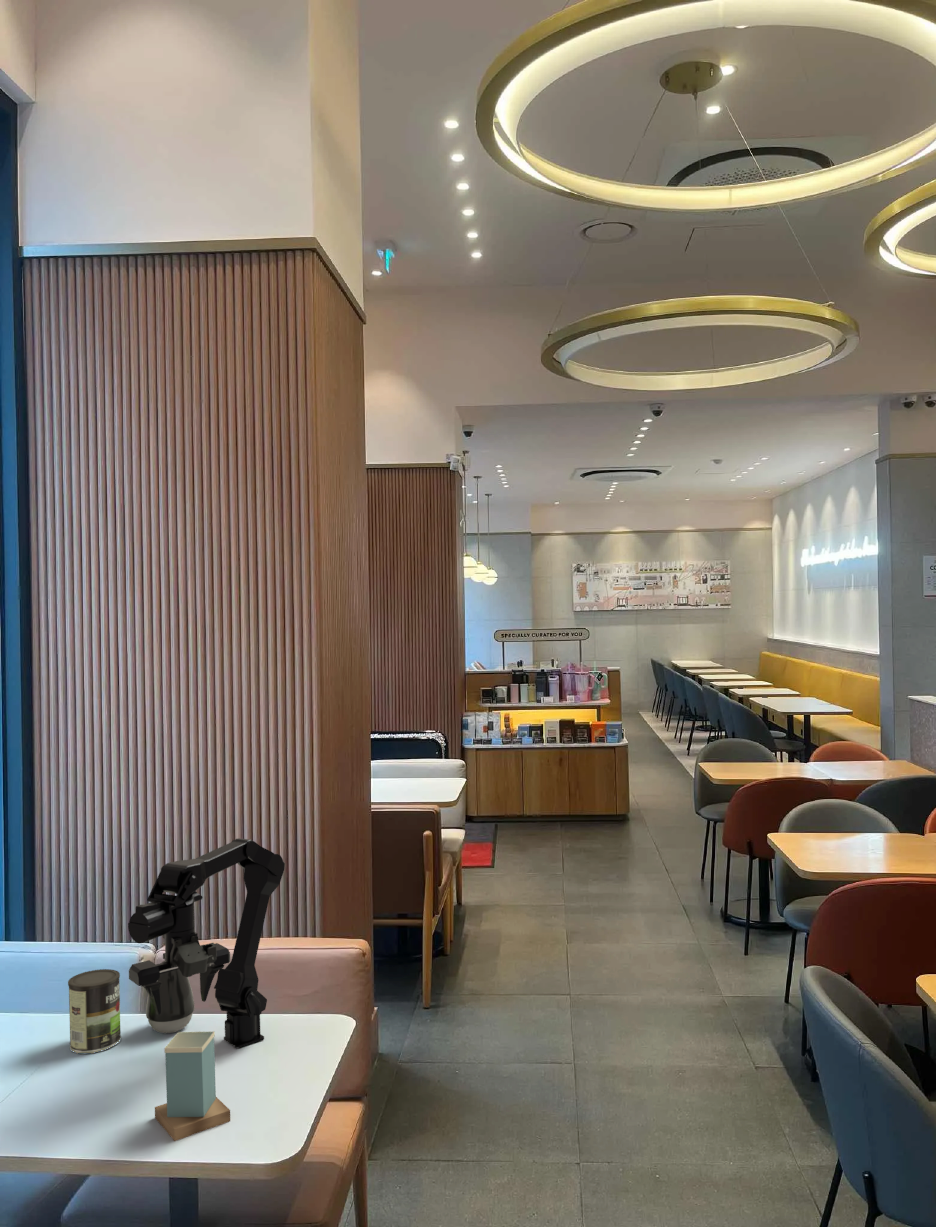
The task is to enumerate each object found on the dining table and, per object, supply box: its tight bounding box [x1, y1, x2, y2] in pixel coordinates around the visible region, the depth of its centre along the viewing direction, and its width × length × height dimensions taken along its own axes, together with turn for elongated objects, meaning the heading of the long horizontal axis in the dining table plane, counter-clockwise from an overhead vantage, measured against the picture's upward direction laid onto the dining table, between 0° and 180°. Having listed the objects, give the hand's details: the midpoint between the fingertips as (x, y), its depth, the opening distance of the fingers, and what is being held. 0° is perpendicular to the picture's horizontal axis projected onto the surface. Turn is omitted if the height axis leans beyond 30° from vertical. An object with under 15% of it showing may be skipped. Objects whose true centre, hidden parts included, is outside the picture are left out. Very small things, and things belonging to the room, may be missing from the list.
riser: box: [154, 1096, 231, 1142], centre depth 166 cm, size 10×10×2 cm
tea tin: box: [164, 1031, 217, 1117], centre depth 166 cm, size 7×7×12 cm
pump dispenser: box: [145, 959, 195, 1034], centre depth 206 cm, size 10×10×15 cm
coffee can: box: [67, 968, 122, 1054], centre depth 199 cm, size 10×10×14 cm
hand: (181, 1007), depth 184 cm, fingers open, 9 cm apart
